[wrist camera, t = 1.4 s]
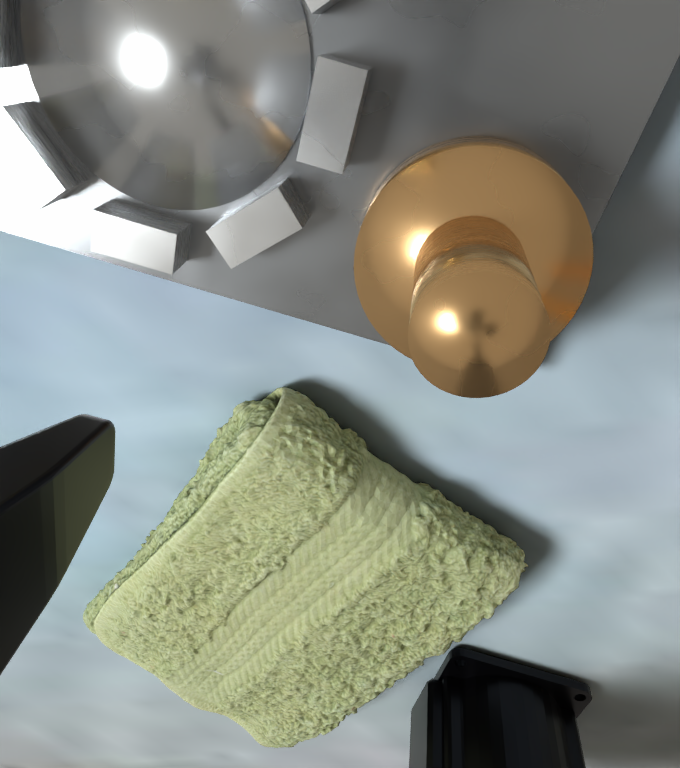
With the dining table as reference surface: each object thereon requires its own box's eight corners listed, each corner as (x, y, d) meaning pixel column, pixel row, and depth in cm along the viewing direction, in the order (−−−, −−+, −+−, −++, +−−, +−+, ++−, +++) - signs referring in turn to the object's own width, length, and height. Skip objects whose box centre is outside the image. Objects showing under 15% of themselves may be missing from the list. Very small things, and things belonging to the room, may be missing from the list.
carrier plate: (847, -338, 12) (1070, -535, 8) (515, 364, 20) (536, 453, 16) (-68, -620, 11) (-348, -974, 7) (-18, 208, 20) (-136, 256, 16)
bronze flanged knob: (621, 173, 16) (702, 240, 11) (526, 369, 19) (556, 488, 14) (395, 106, 16) (375, 143, 11) (338, 314, 19) (302, 414, 14)
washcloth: (84, 598, 30) (48, 656, 27) (272, 351, 22) (248, 400, 19) (302, 718, 33) (290, 782, 30) (547, 540, 24) (561, 607, 21)
